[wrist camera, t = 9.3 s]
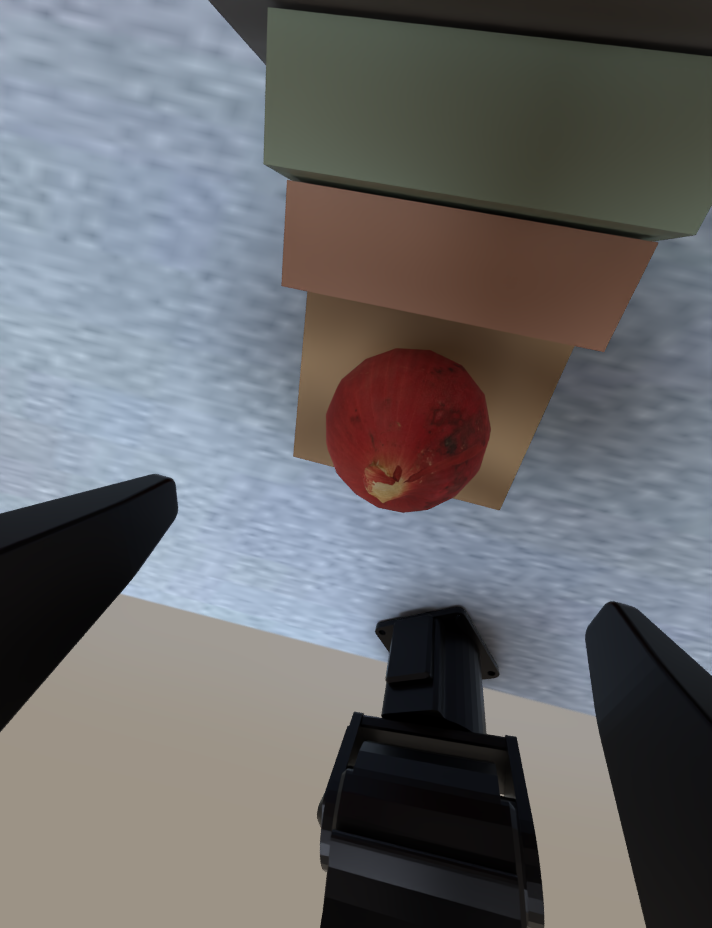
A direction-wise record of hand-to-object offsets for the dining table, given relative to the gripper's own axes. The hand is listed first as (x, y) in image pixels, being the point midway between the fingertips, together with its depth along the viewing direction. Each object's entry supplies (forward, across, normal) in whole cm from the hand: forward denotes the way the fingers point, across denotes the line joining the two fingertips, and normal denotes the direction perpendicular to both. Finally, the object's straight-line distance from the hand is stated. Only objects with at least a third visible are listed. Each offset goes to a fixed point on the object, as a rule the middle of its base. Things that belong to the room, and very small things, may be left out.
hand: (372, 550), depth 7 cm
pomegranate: (+11, 0, 0) cm, 11 cm away
